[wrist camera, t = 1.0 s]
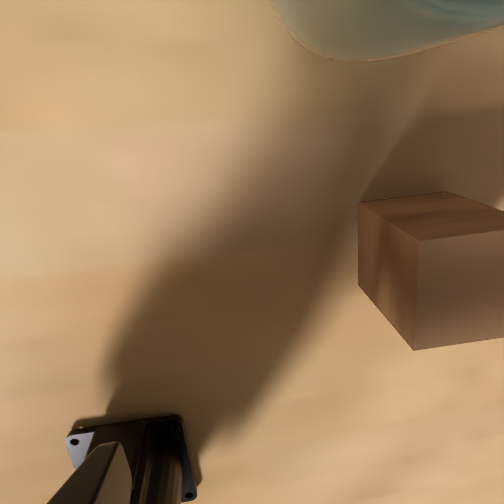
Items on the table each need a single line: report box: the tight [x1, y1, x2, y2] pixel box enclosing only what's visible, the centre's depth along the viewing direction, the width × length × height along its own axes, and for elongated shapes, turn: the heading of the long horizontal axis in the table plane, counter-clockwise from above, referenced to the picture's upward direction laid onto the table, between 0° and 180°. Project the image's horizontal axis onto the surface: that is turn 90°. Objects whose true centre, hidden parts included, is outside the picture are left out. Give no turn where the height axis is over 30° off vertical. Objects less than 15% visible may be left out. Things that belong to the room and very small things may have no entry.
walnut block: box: [358, 192, 504, 351], centre depth 17 cm, size 4×4×6 cm
